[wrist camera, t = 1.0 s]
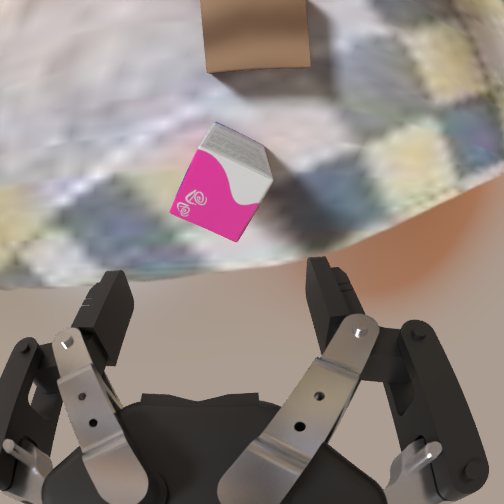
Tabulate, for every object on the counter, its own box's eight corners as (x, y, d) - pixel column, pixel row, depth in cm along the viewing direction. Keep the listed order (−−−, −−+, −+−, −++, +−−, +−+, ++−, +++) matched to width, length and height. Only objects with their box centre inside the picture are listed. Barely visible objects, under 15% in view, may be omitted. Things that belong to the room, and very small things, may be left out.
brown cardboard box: (203, -5, 21) (199, -16, 17) (294, -9, 21) (303, -21, 17) (210, 73, 26) (206, 72, 22) (301, 68, 26) (310, 66, 22)
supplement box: (213, 119, 28) (200, 142, 18) (265, 145, 30) (280, 181, 20) (189, 168, 31) (167, 215, 21) (239, 191, 32) (240, 246, 23)
